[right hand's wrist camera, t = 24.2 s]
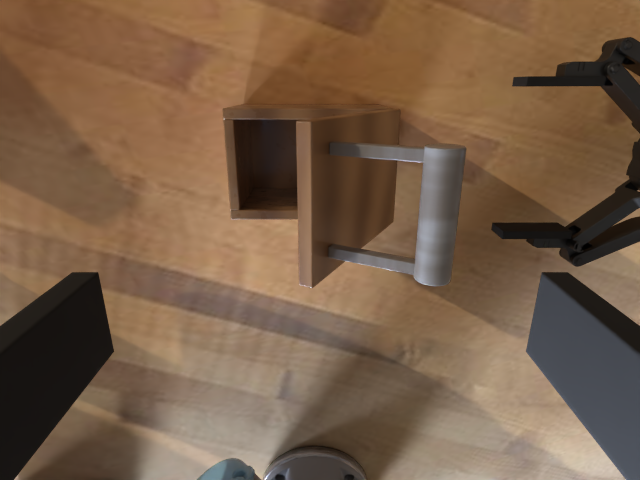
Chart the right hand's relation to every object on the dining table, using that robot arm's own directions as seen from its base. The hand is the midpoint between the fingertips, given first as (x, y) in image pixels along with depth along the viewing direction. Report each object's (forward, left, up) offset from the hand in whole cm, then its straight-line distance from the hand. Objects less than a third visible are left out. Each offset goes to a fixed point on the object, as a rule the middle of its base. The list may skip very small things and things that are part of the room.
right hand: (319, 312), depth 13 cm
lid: (+1, -2, -18) cm, 18 cm away
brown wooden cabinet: (0, +1, -34) cm, 34 cm away
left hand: (+10, -14, -28) cm, 32 cm away
